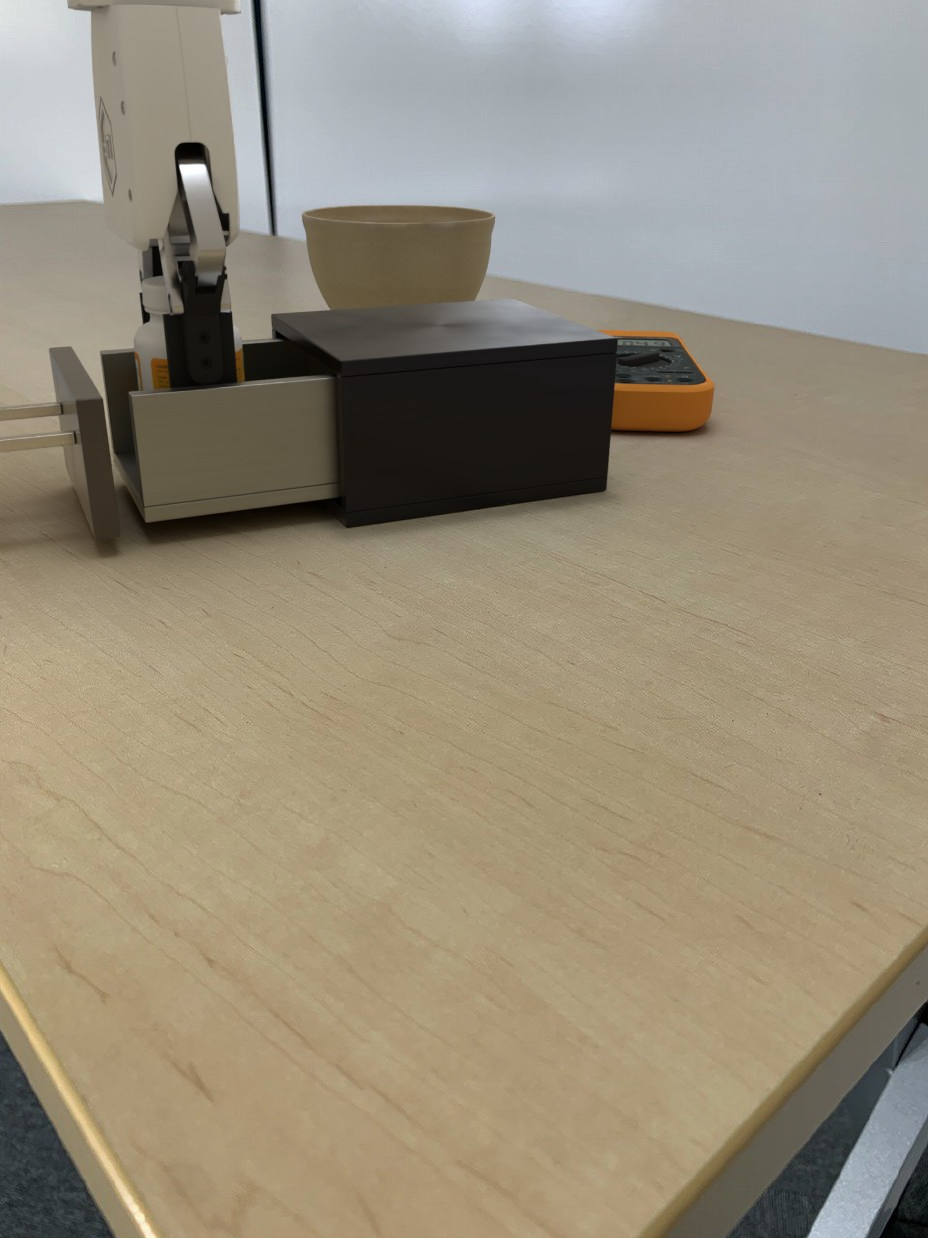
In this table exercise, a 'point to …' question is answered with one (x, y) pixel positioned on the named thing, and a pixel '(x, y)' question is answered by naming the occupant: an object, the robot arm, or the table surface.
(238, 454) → the sliding drawer
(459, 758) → the table surface
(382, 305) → the planter bowl
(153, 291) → the supplement bottle
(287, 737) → the table surface
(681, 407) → the multimeter
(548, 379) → the dark drawer cabinet
